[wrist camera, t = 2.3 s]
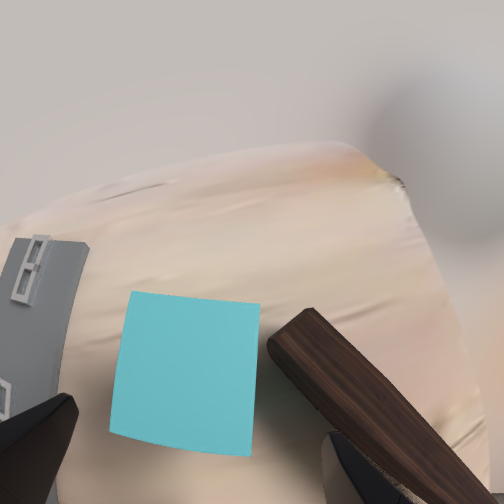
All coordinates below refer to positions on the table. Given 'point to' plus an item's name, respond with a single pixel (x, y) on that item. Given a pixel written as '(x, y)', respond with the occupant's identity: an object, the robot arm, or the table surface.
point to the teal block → (187, 373)
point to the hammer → (372, 412)
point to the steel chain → (25, 300)
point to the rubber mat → (38, 324)
